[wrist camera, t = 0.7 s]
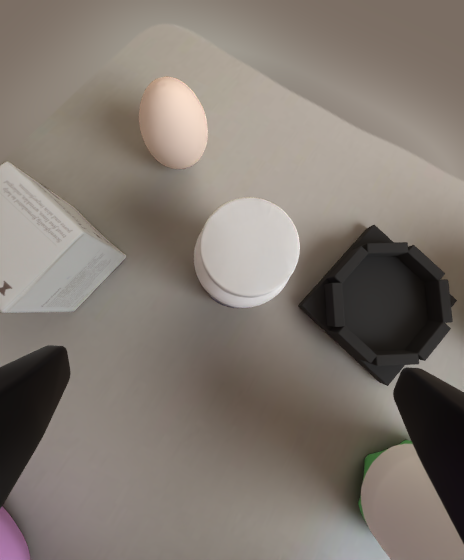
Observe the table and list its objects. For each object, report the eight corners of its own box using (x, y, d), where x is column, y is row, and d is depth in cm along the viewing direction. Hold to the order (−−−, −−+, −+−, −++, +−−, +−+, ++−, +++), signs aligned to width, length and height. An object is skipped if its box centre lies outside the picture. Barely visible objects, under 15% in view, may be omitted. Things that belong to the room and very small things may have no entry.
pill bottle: (231, 223, 23) (244, 160, 13) (284, 268, 23) (337, 239, 13) (185, 276, 22) (161, 251, 13) (239, 323, 22) (259, 334, 12)
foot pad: (380, 382, 23) (400, 392, 20) (297, 305, 23) (308, 305, 20) (447, 300, 24) (474, 299, 21) (367, 227, 24) (385, 218, 21)
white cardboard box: (129, 256, 22) (87, 231, 15) (73, 314, 22) (1, 316, 14) (73, 205, 22) (5, 156, 15) (16, 261, 22) (-85, 237, 14)
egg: (159, 188, 23) (132, 132, 16) (147, 135, 23) (115, 56, 16) (214, 176, 23) (214, 116, 16) (201, 124, 24) (195, 43, 16)
